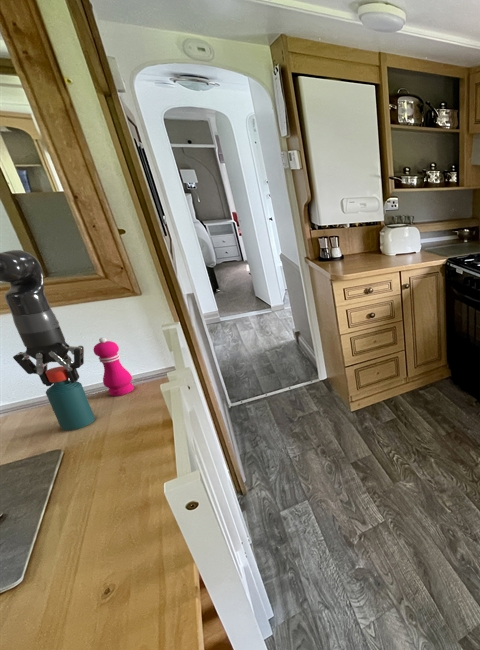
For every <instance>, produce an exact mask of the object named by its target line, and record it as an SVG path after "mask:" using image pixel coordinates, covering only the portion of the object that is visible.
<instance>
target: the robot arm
mask: <svg viewBox="0 0 480 650" xmlns="http://www.w3.org/2000/svg"><path fill="white" fill-rule="evenodd" d="M44 281H45V280H44V271H43V268H42V265H41V263H40V262H39V260H38V259H37V258H36V257H35V256H34V255H33V254H31V253H30V252H28V251H25V250H21V249H12V250H11V249H10V250H7V251H3V252H0V283H9V289H8V291H6V292H5V293H4V300H5V303H6V305H7V307H8V309H9V312H10V313H11V316H12V320H13V324H14V327H15V328H16V330H17V333H18V335H19V337H20V339H21V342H22V343H23V346H24V347H25V349H26V350H25V351H19V352H18V353H16V354H15V355H13V356H12V359H13V360H14V361H15V362H16V363H17V364H18V365H19V366H20V368H21V369H23V370H24V371H25V373H26V374H28V375H33V374H34V375H38V376H39V379H40V381H41V383H42V384H43V385H45V386H46V387H51V386H52V385H53V384H54V383H53V382H49V380H48V378H47V375H46V373H45V372H46V371H47V370H49V369H48V367H49V364H50V363H57V364H58V365H59V366H60V367H61V366H63V367H64V368H65V369H66V370H67V374H68V377H69V378H68V379H69V380H70V381H71V383H75V382H76V381H77V382H78V380H79V379H80V374H79V371H78V369H79V368H80V367H81V366H83V365H84V364H85V359H84V357H85V348H84V346H83V345H78V346H71V345H69V344H68V343H67V341H66V338H65V335H64V333H63V331H62V328H61V326H60V322H59V320H58V319H57V317H56V314H55V313H54V311H53V309H52V307H51V305H50V303H49V299H48V298H47V296H46V294H45V282H44ZM69 352H70V353H71V355H73V360H72V357H71V356H70V355H68V353H69ZM30 358H32V359H34V360H36V361H35V363H34V362H33V361H32V360H31V359H30Z"/></svg>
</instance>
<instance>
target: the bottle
mask: <svg viewBox="0 0 480 650" xmlns="http://www.w3.org/2000/svg"><path fill="white" fill-rule="evenodd" d="M45 395H46V398H47V399H48V402H49V404H50V406H51V409H52V411H53V413H54V415H55V418H56V420H57V422H58V424H59V426H60V429H61V430H62V431H75V430H79V429H82V428H85V427H87V426H89V425H91V424H93V422H95V420H96V417H95V415H94V413H93V409H92V407H91V405H90V402H89V400H88V397H87V395H86V392H85V389H84V387H83V384H82V383H81V382H80V381H78V380H77V381H76V382H75V383H71V381H70V379H69V378H68V379H66V380H64V381H60V382H53V384H52V385H51V386H49V387H48V388H47V389H46V391H45Z"/></svg>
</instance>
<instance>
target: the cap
mask: <svg viewBox="0 0 480 650" xmlns="http://www.w3.org/2000/svg"><path fill="white" fill-rule="evenodd" d="M45 373H46V375H47V378H48V380H49V382H60V381H64V380H66V379H69V377H68V374H67V370H66V369H65V368H64V367H63V366H61V365H60V366H55V367H52V368H49V369H48V370H47V371H46V372H45Z"/></svg>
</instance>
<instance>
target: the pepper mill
mask: <svg viewBox="0 0 480 650" xmlns="http://www.w3.org/2000/svg"><path fill="white" fill-rule="evenodd" d="M107 339H108V338H106V337H100V338H99V340H98V341H99V342H98V343H97V344H95V345H94V346H93V353H94V355H95V356H97V357H98V360H99V362H100V363H102V365H103V376H102V383H103V386H104V387H106V389H107V388H108V393H109V395H110V396H112V397H118V396H123V395H127V394H129V393H131V392H132V391H134V389H135V387H134V384H133V383H132V380H133V376H132V374H131V373H130V372H129V370H128V369H126V368H125V367H124V366H123V365H122V363H121V361H120V358H121V356H120V354H119V350H120V347H119V345H118V344H117V342H114V341H112V340H107Z"/></svg>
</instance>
